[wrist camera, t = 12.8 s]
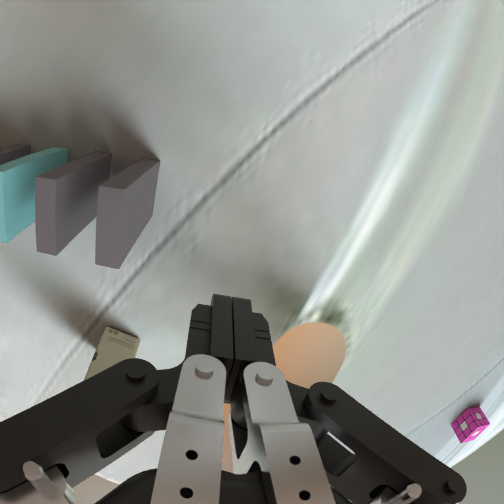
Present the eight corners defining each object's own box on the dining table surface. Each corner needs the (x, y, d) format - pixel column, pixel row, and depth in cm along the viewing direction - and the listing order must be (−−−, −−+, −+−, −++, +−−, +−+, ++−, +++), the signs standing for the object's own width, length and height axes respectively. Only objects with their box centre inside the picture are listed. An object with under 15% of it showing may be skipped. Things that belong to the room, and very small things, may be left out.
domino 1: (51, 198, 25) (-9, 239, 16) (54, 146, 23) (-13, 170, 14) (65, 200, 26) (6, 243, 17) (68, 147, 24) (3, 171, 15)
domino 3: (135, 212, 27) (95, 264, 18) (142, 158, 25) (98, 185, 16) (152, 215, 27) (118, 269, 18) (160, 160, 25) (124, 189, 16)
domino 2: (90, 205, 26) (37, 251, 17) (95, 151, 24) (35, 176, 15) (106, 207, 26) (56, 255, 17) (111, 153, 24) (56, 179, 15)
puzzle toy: (466, 408, 49) (477, 426, 44) (479, 406, 50) (490, 423, 45) (450, 425, 51) (460, 443, 46) (464, 422, 52) (474, 439, 47)
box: (106, 323, 32) (68, 414, 20) (142, 338, 33) (117, 433, 21) (98, 353, 34) (66, 438, 22) (131, 366, 35) (109, 455, 23)
